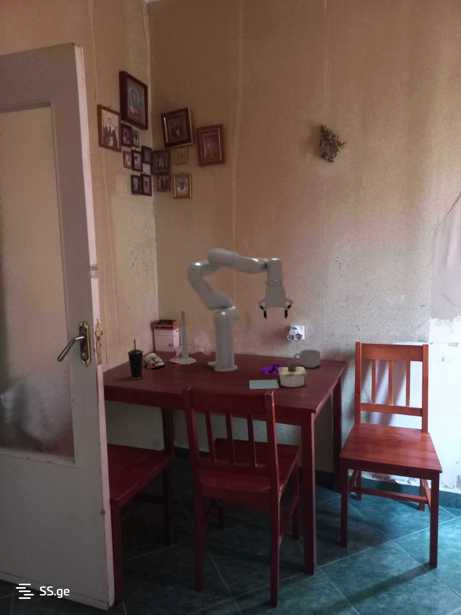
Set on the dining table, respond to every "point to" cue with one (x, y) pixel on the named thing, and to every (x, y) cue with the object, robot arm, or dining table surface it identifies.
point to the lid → (291, 370)
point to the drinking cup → (135, 362)
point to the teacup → (308, 358)
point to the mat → (263, 384)
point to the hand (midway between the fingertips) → (275, 318)
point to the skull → (152, 360)
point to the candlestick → (184, 344)
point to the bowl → (292, 381)
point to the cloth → (271, 369)
